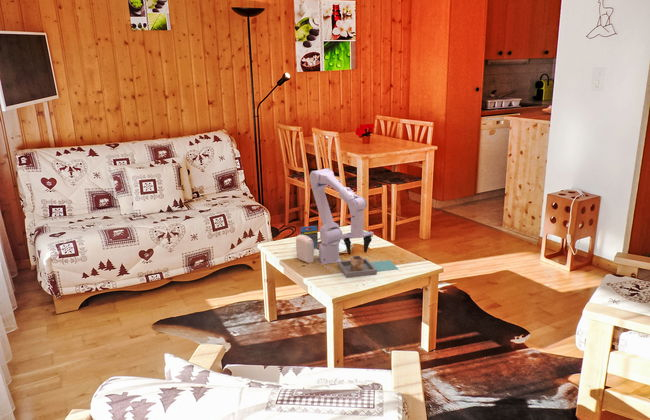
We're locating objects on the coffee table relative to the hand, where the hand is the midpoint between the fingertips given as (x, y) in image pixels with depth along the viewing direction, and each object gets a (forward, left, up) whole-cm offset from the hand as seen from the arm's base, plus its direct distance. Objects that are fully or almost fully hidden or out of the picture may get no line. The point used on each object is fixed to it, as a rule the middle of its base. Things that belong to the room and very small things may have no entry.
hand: (357, 252), depth 231 cm
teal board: (+13, +1, -9) cm, 16 cm away
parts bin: (0, 0, -9) cm, 9 cm away
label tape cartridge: (-15, +34, -9) cm, 38 cm away
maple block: (0, 0, -8) cm, 8 cm away
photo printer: (-20, +19, -9) cm, 29 cm away
